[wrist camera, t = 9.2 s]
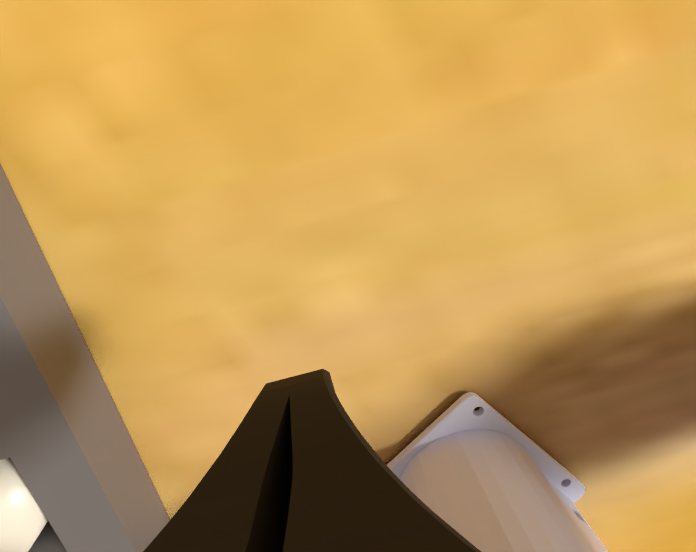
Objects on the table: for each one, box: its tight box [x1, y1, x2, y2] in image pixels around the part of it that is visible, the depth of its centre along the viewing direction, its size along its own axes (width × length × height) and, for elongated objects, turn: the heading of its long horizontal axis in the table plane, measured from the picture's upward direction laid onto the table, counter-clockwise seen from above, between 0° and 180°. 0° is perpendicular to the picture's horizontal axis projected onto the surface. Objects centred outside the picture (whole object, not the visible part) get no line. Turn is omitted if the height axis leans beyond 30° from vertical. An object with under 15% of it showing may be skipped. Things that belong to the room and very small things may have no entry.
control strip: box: [0, 164, 170, 552], centre depth 18 cm, size 10×29×3 cm, turn 12°
